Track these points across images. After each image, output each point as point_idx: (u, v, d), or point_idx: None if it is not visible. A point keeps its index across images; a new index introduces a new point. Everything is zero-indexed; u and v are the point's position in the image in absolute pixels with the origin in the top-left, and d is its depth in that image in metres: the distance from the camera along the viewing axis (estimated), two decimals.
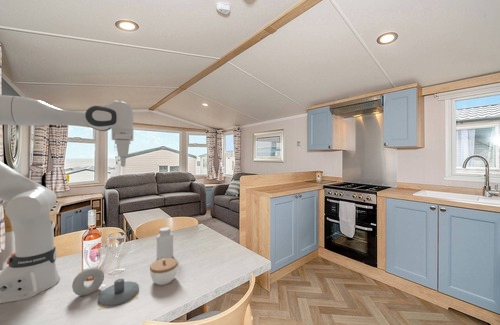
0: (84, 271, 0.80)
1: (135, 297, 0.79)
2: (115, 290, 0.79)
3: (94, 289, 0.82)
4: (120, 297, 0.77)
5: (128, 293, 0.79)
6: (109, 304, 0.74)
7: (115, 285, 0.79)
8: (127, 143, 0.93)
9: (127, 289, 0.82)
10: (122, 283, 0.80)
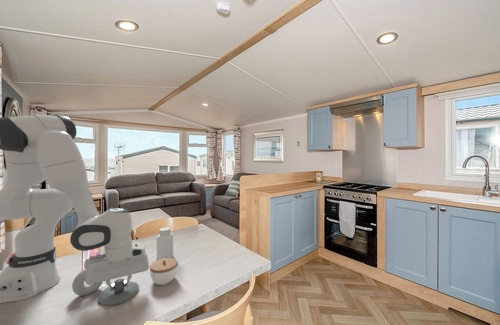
0: (84, 271, 0.80)
1: (135, 297, 0.79)
2: (115, 290, 0.79)
3: (94, 289, 0.82)
4: (120, 297, 0.77)
5: (128, 293, 0.79)
6: (109, 304, 0.74)
7: (115, 285, 0.79)
8: (146, 253, 0.87)
9: (127, 289, 0.82)
10: (122, 283, 0.80)
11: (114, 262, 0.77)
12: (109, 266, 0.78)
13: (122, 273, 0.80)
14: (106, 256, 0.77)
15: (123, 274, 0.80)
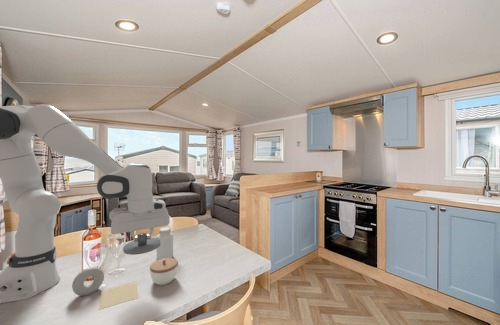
0: (84, 271, 0.80)
1: (135, 297, 0.79)
2: (138, 242, 0.82)
3: (94, 289, 0.82)
4: (144, 248, 0.80)
5: (151, 245, 0.82)
6: (134, 253, 0.77)
7: (138, 237, 0.82)
8: None
9: (149, 243, 0.85)
10: (145, 236, 0.83)
11: (137, 214, 0.80)
12: (132, 217, 0.80)
13: (145, 225, 0.82)
14: (129, 208, 0.79)
15: (146, 226, 0.82)
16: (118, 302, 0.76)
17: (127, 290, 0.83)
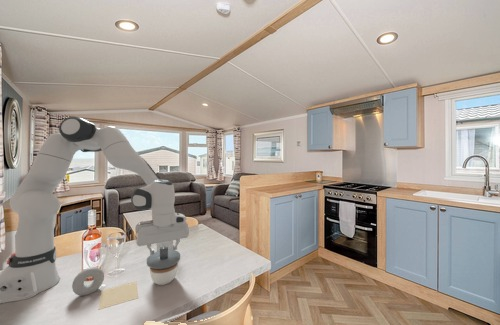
0: (84, 271, 0.80)
1: (135, 297, 0.79)
2: (161, 256, 0.88)
3: (94, 289, 0.82)
4: (166, 262, 0.86)
5: (172, 259, 0.88)
6: (158, 267, 0.83)
7: (161, 252, 0.88)
8: None
9: (170, 256, 0.90)
10: (167, 250, 0.89)
11: (161, 227, 0.86)
12: (156, 230, 0.86)
13: (167, 238, 0.88)
14: (154, 221, 0.85)
15: (168, 239, 0.89)
16: (118, 302, 0.76)
17: (127, 290, 0.83)
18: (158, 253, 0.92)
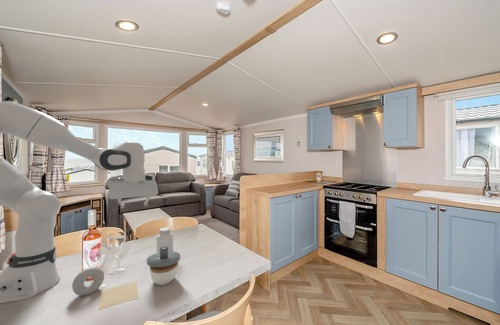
0: (84, 271, 0.80)
1: (135, 297, 0.79)
2: (161, 255, 0.88)
3: (94, 289, 0.82)
4: (165, 261, 0.86)
5: (172, 259, 0.88)
6: (157, 265, 0.83)
7: (161, 251, 0.88)
8: None
9: (170, 256, 0.90)
10: (167, 249, 0.89)
11: (131, 183, 0.96)
12: (126, 186, 0.96)
13: (137, 194, 0.98)
14: (124, 178, 0.95)
15: (138, 195, 0.98)
16: (118, 302, 0.76)
17: (127, 290, 0.83)
18: (159, 254, 0.93)
